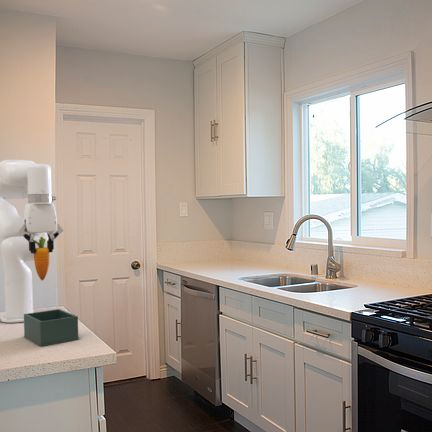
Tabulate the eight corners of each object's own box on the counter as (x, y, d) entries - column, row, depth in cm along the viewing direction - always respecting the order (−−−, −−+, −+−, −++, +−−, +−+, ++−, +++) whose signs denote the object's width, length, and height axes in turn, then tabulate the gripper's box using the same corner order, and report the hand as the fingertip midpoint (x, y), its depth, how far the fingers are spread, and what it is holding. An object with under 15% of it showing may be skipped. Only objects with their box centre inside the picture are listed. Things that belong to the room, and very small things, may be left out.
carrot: (44, 281, 183) (42, 237, 183) (31, 281, 184) (30, 237, 184) (53, 279, 188) (52, 236, 188) (40, 279, 189) (39, 236, 189)
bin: (24, 336, 179) (23, 314, 179) (60, 330, 187) (59, 309, 187) (40, 346, 167) (40, 322, 167) (78, 339, 175) (77, 316, 174)
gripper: (61, 199, 194) (62, 250, 195) (10, 200, 183) (11, 253, 183) (69, 199, 189) (70, 251, 189) (16, 200, 177) (18, 255, 178)
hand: (41, 252), depth 186 cm, fingers closed on carrot, 4 cm apart
